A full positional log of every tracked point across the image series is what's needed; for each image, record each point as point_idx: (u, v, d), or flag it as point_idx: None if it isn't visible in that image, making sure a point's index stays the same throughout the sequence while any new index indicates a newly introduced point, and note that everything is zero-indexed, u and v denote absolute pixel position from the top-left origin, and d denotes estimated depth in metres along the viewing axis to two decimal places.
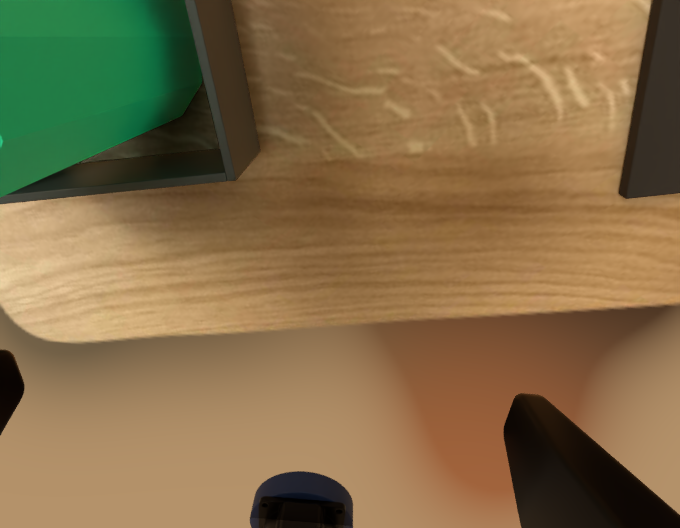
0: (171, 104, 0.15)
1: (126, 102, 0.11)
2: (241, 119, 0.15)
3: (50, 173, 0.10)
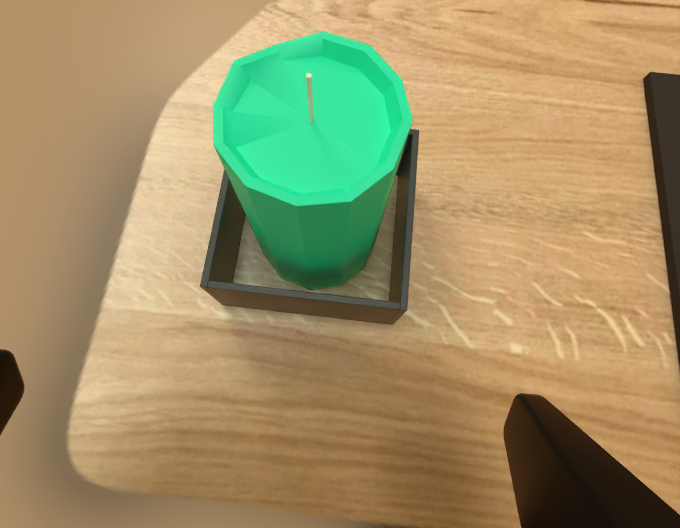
0: (357, 262, 0.20)
1: (377, 223, 0.17)
2: None
3: (349, 225, 0.14)
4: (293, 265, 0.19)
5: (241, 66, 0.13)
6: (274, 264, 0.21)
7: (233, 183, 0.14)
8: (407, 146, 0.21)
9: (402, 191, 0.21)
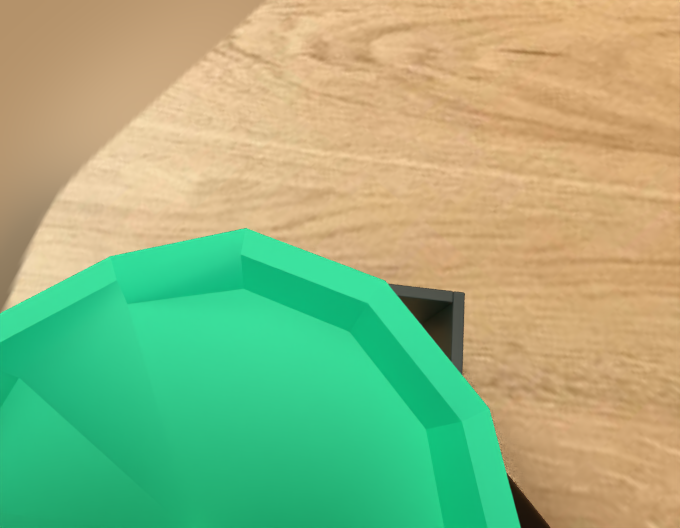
0: None
1: None
2: None
3: None
4: None
5: None
6: None
7: None
8: (440, 309, 0.12)
9: None
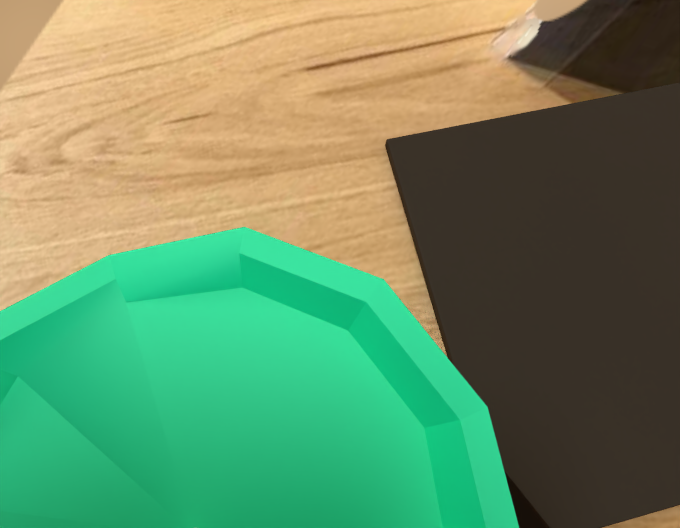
0: None
1: None
2: None
3: None
4: None
5: None
6: None
7: None
8: None
9: None
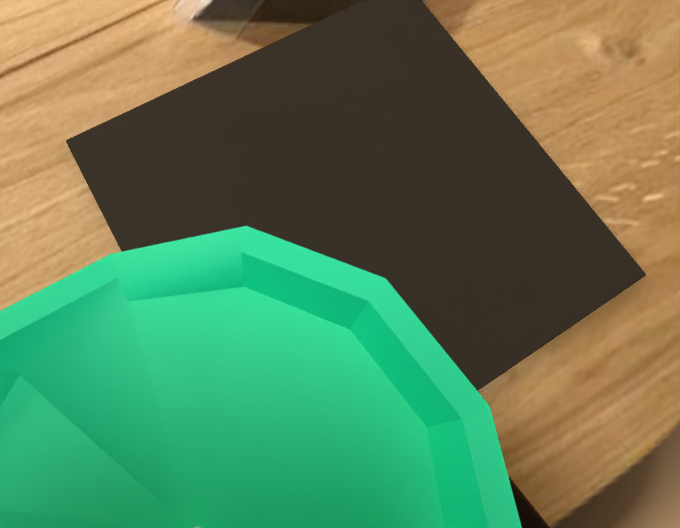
0: None
1: None
2: None
3: None
4: None
5: None
6: None
7: None
8: None
9: None
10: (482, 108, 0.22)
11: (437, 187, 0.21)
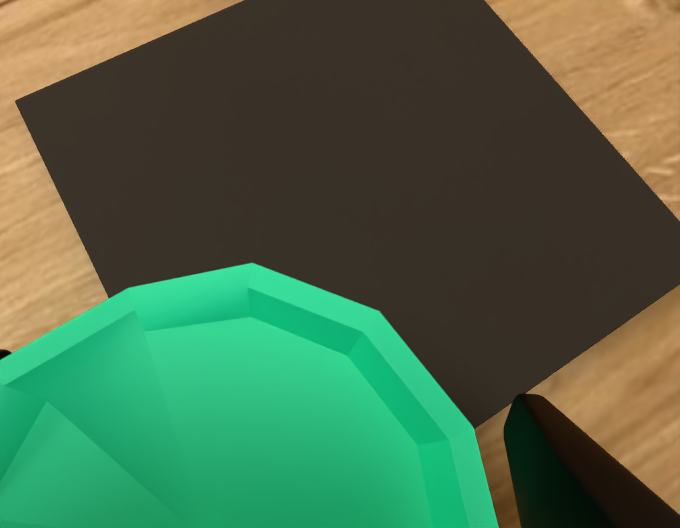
0: None
1: None
2: None
3: None
4: None
5: (7, 383, 0.05)
6: None
7: None
8: None
9: None
10: (509, 66, 0.19)
11: (459, 156, 0.17)
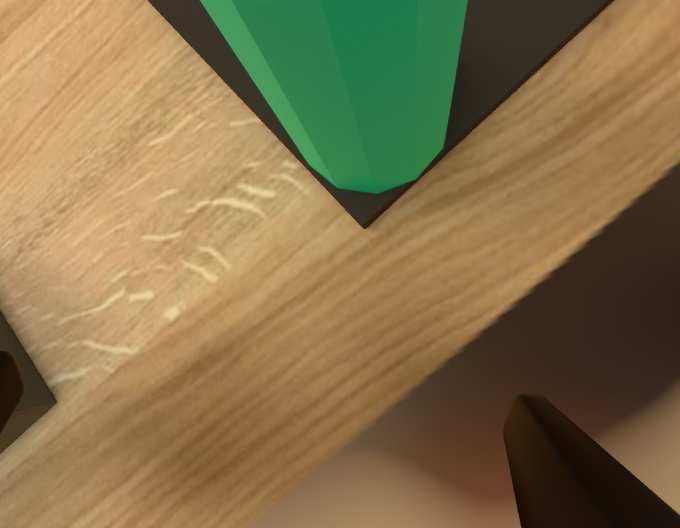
0: (434, 134, 0.14)
1: (459, 43, 0.10)
2: None
3: (418, 32, 0.08)
4: (345, 155, 0.13)
5: None
6: (322, 168, 0.15)
7: (215, 16, 0.09)
8: None
9: None
10: None
11: None
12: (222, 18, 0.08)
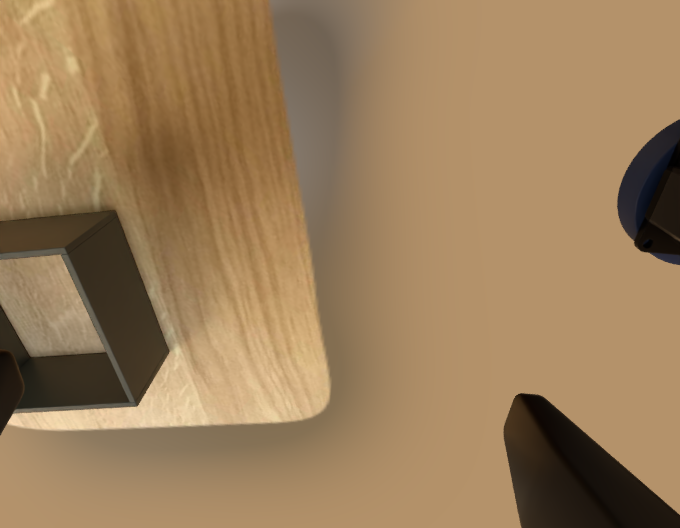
0: None
1: None
2: (60, 229, 0.19)
3: None
4: None
5: None
6: None
7: None
8: None
9: None
10: None
11: None
12: None
